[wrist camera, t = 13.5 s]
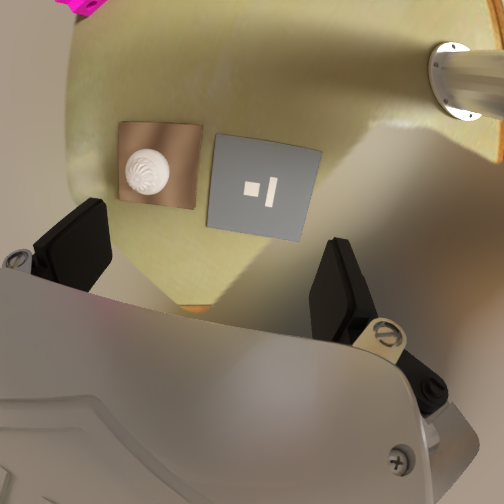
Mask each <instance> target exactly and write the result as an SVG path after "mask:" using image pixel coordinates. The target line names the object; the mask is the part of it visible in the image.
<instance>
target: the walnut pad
mask: <svg viewBox="0 0 504 504" xmlns="http://www.w3.org/2000/svg"><path fill="white" fill-rule="evenodd" d="M202 128H203V125H196V124H183V123H167V122H120V123H119V140H118V169H119V197H120V200H121V201H130V202H138V203H146V204H154V205H162V206H170V207H177V208H185V209H192V210H194V208H195V207H196V193H197V180H198V168H199V157H200V147H201V137H202ZM141 149H152V150H155V151H158V152H159V153H162V155H163V156H164V158H165V159H167V162H168V165H169V178H168V181H167V183H166V185H165V186H164V188H163V189H162V190H161V191H160V192H158V193H156V194H152V195H144V194H141V193H139V192H137V191H135V190H134V189H132V187H131V186H129V183H128V182H127V179H126V173H125V169H126V164H127V161H128V159H129V158H130V156H131V155H132V154H133V153H134V152H136V151H138V150H141Z"/></svg>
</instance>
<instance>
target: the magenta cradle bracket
mask: <svg viewBox="0 0 504 504" xmlns="http://www.w3.org/2000/svg"><path fill="white" fill-rule="evenodd" d="M106 1H107V0H55V2H59V3H64V4H68V6H69V7H70V9H71V11H72V12H73V13H76V14H80V15H84V16H88V17H89V16H90V15H91V14H92V13H93V12H95V11H96V10H97V9H98V8H99V7H100V6H101V5H102V4H103V3H105V2H106Z"/></svg>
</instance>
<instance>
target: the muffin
mask: <svg viewBox="0 0 504 504" xmlns="http://www.w3.org/2000/svg"><path fill="white" fill-rule="evenodd" d="M125 173H126V179H127V182H128V183H129V186H131V187H132V189H134V190H135V191H137V192H139V193H141V194H144V195H152V194H156V193H158V192H160V191H161V190H162V189H163V188H164V186H165V185H166V183H167V181H168V178H169V165H168V162H167V159H165V158H164V156H163V155H162V153H159V152H158V151H155V150H152V149H141V150H138V151H136V152H134V153H133V154H132V155H131V156H130V158H129V159H128V161H127V164H126V169H125Z"/></svg>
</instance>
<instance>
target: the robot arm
mask: <svg viewBox="0 0 504 504" xmlns="http://www.w3.org/2000/svg"><path fill="white" fill-rule="evenodd" d="M428 73H429V80H430V84H431V88H432V90H433V92H434V95H435V97H436V98H437V100H438V102H439V103H440V105H441V106H442V107H443V108H444V109H445V110H446V111H447V112H448V113H449V114H450V115H452V116H453V117H455V118H458V119H461V120H465V121H471V120H475V119H477V118H479V117H480V116H481V115H483V116H487V117H490V118H494V119H497V120H500V121H503V122H504V50H470V49H468V48H467V47H465V46H464V45H462V44H459V43H456V42H446V43H442V44H440V45H438V46H437V47H436V48H435V49H434V50H433V52H432V54H431V56H430V59H429V64H428ZM33 247H34V250H35V253H34V254H33V255H32V252H31V251H30V250H28V249H20V250H17V251H14V252H12V253H11V254H9V255H8V256H7V257H6V258H5V260H4V261H3V264H2V268H0V504H436V503H437V502H438V501H439V500H440V499H441V498H442V496H443V495H444V494H445V493H446V492H447V491H448V490H449V489H450V488H451V487H452V485H453V484H454V483H455V482H456V481H457V479H458V478H459V477H460V476H461V475H462V473H463V472H464V471H465V470H466V468H467V467H468V466H469V464H470V463H471V462H472V460H473V459H474V458H475V456H476V455H477V453H478V451H479V446H480V444H479V438H478V436H477V434H476V433H475V431H474V430H473V428H472V427H471V426H470V424H469V423H468V422H467V420H466V419H465V417H464V416H463V415H462V414H461V412H460V411H459V409H458V408H457V407H456V405H455V404H454V403H453V402H451V403H450V404H449V403H448V401H447V399H448V389H447V386H446V384H445V382H444V381H443V379H441V378H440V377H439V376H438V375H437V374H436V373H434V372H433V371H432V370H431V369H429V368H428V367H427V366H426V365H424V364H423V363H421V362H420V361H419V360H418V359H416V358H415V357H414V356H412V355H411V354H410V353H409V352H408V351H406V350H405V349H404V348H405V346H406V342H407V341H406V335H405V333H404V331H403V330H402V329H401V327H400V326H399V325H398V324H396V323H395V322H393V321H391V320H389V319H385V318H378V315H377V312H376V309H375V306H374V303H373V300H372V297H371V294H370V292H369V289H368V286H367V284H366V281H365V278H364V276H363V275H362V273H361V271H360V268H359V266H358V263H357V260H356V258H355V255H354V253H353V250H352V248H351V245H350V243H349V241H348V240H346V239H341V238H336V237H334V238H333V240H328V242H327V245H326V248H325V251H324V253H323V256H322V259H321V262H320V265H319V268H318V271H317V274H316V276H315V279H314V282H313V284H312V287H311V290H310V294H309V305H310V316H311V325H312V337H313V339H310V338H303V337H297V336H290V335H282V334H275V333H269V332H262V331H256V330H249V329H244V328H238V327H233V326H227V325H221V324H217V323H211V322H206V321H201V320H196V319H191V318H186V317H182V316H177V315H172V314H168V313H164V312H159V311H155V310H151V309H147V308H142V307H139V306H135V305H131V304H127V303H123V302H119V301H115V300H112V299H108V298H105V297H101V296H98V295H94V294H91V293H88V292H89V290H90V289H91V288H92V286H93V285H94V284H95V282H96V281H97V280H98V278H99V277H100V276H101V274H102V273H103V272H104V270H105V269H106V268H107V267H108V265H109V264H110V263H111V260H112V249H111V242H110V234H109V226H108V217H107V207H106V204H105V203H104V202H103V200H102V199H98V198H89V199H87V200H86V201H85V202H83V203H82V204H81V205H79V206H78V207H77V208H76V209H75V210H73V211H72V212H71V213H69V214H68V215H67V216H66V217H65V218H63V219H62V220H61V221H60V222H58V223H57V224H56V225H55V226H54V227H52V228H51V229H50V230H49V231H48V232H47V233H46V234H44V235H43V236H42V237H41V238H40V239H39V240H38V241H37V242H36V243H34V244H33Z"/></svg>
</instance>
